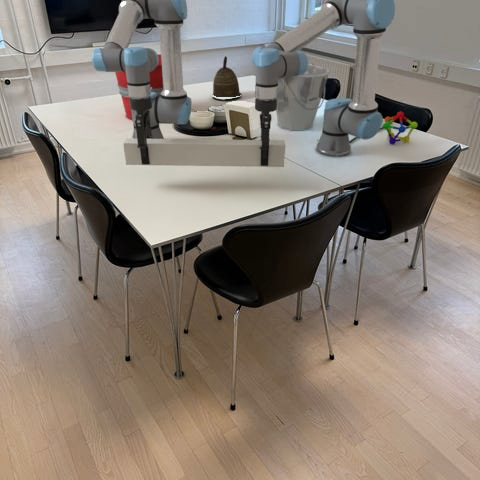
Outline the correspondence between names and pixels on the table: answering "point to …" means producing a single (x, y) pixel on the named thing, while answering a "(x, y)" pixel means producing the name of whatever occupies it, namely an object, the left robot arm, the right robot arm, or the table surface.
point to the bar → (205, 152)
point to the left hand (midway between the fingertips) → (147, 160)
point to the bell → (225, 82)
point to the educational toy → (398, 128)
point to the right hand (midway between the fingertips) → (264, 162)
